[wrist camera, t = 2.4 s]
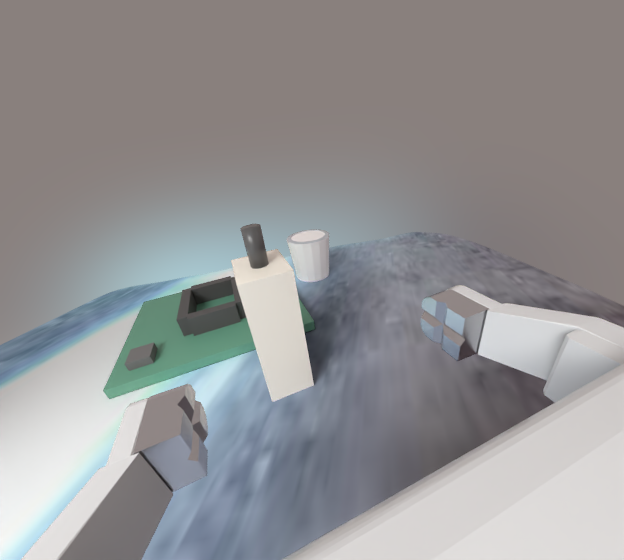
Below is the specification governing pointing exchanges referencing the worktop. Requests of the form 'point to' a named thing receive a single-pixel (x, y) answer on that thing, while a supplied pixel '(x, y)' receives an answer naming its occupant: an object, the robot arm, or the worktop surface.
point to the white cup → (310, 254)
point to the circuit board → (185, 335)
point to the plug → (273, 315)
